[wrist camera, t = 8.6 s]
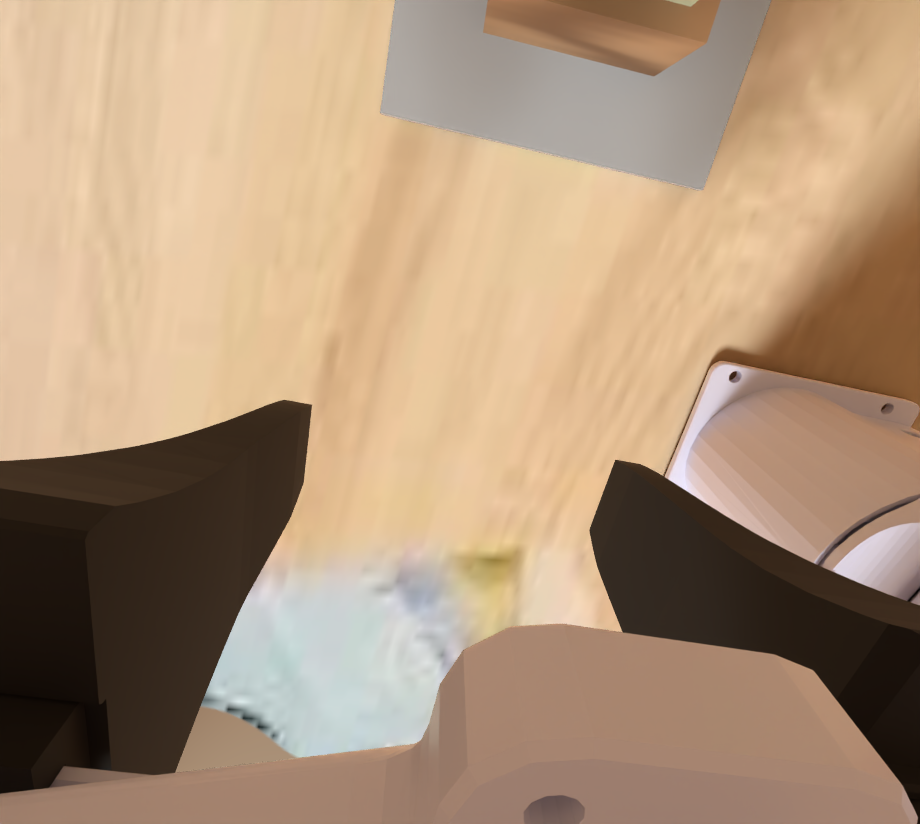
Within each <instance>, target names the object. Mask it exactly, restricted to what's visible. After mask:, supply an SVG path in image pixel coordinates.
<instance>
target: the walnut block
mask: <svg viewBox="0 0 920 824" xmlns="http://www.w3.org/2000/svg"><path fill="white" fill-rule="evenodd" d="M720 1H721V0H698V1H697V2H696V3H695V4H693V5H692V6H691V7H690V6H686V5H682V4H678V3H674V2H671V1H667V0H488V2H487V8H486V15H485V22H484V29H483V33H487V34H490V35H494V36H498V37H502V38H506V39H510V40H514V41H518V42H522V43H525V44H529V45H533V46H537V47H541V48H545V49H549V50H553V51H557V52H560V53H564V54H568V55H572V56H576V57H580V58H584V59H588V60H592V61H595V62H599V63H603V64H607V65H611V66H615V67H619V68H623V69H627V70H630V71H634V72H638V73H642V74H646V75H650V76H656V75H657V74H659V73H661V72H662V71H664V70H665V69H667V68H668V67H670V66H672V65H673V64H675V63H676V62H678V61H679V60H681V59H683V58H684V57H686V56H687V55H689V54H690V53H692V52H694V51H695V50H697V49H698V48H700V47H701V46H703V45H705V44H706V43H707V41H708V38H709V35H710V32H711V29H712V26H713V23H714V20H715V16H716V13H717V10H718V7H719V4H720Z"/></svg>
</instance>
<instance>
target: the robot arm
mask: <svg viewBox="0 0 920 824" xmlns="http://www.w3.org/2000/svg"><path fill="white" fill-rule="evenodd" d="M734 371H737V375H736V377H735V378H734V379H732V380H729V375H730V374H731V373H732V372H734ZM885 404H887V405H886V407H885V408H884V409H883V410H881V409H882V407H883V406H884V405H885ZM311 409H312V405H310V404H304V403H299V402H293V401H288V400H282V401H278V402H275V403H272V404H269V405H267V406H264V407H261V408H259V409H256V410H254V411H251V412H249V413H246V414H243V415H241V416H238V417H236V418H233V419H230V420H228V421H225V422H222V423H219V424H216V425H213V426H210V427H207V428H204V429H201V430H198V431H195V432H192V433H189V434H185V435H182V436H178V437H174V438H171V439H167V440H162V441H158V442H154V443H149V444H145V445H140V446H135V447H129V448H123V449H116V450H110V451H103V452H97V453H90V454H83V455H75V456H65V457H55V458H44V459H29V460H14V461H0V824H920V431H918V430H916V429H914V428H912V427H911V426H912V424H913V423H914V421H915V419H916V418H917V416H918V414H919V411H920V408H919V406H918V404H916V403H914V402H912V401H910V400H907V399H902V398H897V397H892V396H888V395H883V394H878V393H874V392H869V391H864V390H859V389H855V388H850V387H845V386H840V385H836V384H831V383H826V382H822V381H817V380H812V379H807V378H803V377H798V376H793V375H788V374H784V373H779V372H774V371H770V370H765V369H760V368H755V367H751V366H746V365H741V364H736V363H732V362H727V361H719V362H716V363H715V364H713V365H712V366H711V368H710V369H709V371H708V374H707V376H706V378H705V381H704V383H703V386H702V388H701V390H700V393H699V395H698V398H697V400H696V403H695V405H694V407H693V410H692V412H691V415H690V417H689V419H688V422H687V424H686V427H685V429H684V431H683V434H682V436H681V439H680V441H679V443H678V446H677V448H676V451H675V453H674V455H673V458H672V460H671V463H670V465H669V468H668V470H667V472H666V475H665V477H664V476H662V475H660V474H659V473H657V472H655V471H653V470H651V469H649V468H647V467H645V466H643V465H641V464H636V463H631V462H625V461H619V460H615V462H614V465H613V468H612V470H611V473H610V476H609V478H608V481H607V484H606V487H605V489H604V492H603V495H602V497H601V500H600V503H599V506H598V508H597V511H596V514H595V516H594V519H593V522H592V524H591V527H590V535H591V541H592V546H593V551H594V555H595V559H596V563H597V567H598V570H599V572H600V575H601V578H602V580H603V583H604V586H605V588H606V591H607V594H608V596H609V599H610V601H611V604H612V606H613V609H614V611H615V614H616V616H617V619H618V621H619V624H620V627H621V629H622V632H616V631H609V630H602V629H595V628H588V627H581V626H574V625H567V624H545V625H528V626H512V627H509V628H507V629H505V630H503V631H501V632H499V633H497V634H495V635H493V636H491V637H489V638H487V639H485V640H483V641H481V642H479V643H477V644H475V645H473V646H471V647H469V648H467V649H465V650H463V651H462V653H461V654H460V656H459V657H458V659H457V660H456V662H455V663H454V665H453V666H452V668H451V669H450V671H449V672H448V673H447V675H446V676H445V678H444V679H443V681H442V682H441V684H440V686H439V690H438V693H437V697H436V701H435V704H434V708H433V712H432V715H431V719H430V723H429V725H428V727H427V729H426V731H425V733H424V735H423V738H422V739H421V740H420V741H419V742H417V743H415V744H410V745H402V746H393V747H385V748H377V749H368V750H360V751H352V752H343V753H335V754H327V755H318V756H310V757H302V758H293V759H286V760H278V761H269V762H261V763H253V764H244V765H235V766H227V767H219V768H211V769H202V770H194V771H186V772H177V773H175V771H176V768H177V766H178V763H179V760H180V757H181V755H182V753H183V750H184V748H185V745H186V742H187V739H188V737H189V734H190V731H191V729H192V727H193V724H194V721H195V718H196V716H197V714H198V711H199V708H200V706H201V703H202V701H203V698H204V696H205V693H206V691H207V688H208V686H209V683H210V681H211V678H212V676H213V673H214V671H215V668H216V666H217V663H218V661H219V658H220V656H221V654H222V651H223V649H224V646H225V644H226V642H227V639H228V637H229V635H230V632H231V630H232V627H233V625H234V623H235V620H236V618H237V616H238V613H239V611H240V609H241V607H242V605H243V603H244V601H245V599H246V597H247V595H248V593H249V591H250V590H251V588H252V586H253V584H254V582H255V581H256V579H257V577H258V575H259V574H260V572H261V570H262V568H263V566H264V565H265V563H266V561H267V559H268V557H269V556H270V554H271V552H272V550H273V548H274V547H275V545H276V543H277V541H278V539H279V538H280V536H281V534H282V532H283V530H284V529H285V527H286V525H287V523H288V521H289V519H290V517H291V515H292V512H293V510H294V507H295V505H296V502H297V499H298V497H299V494H300V491H301V488H302V486H303V483H304V474H305V464H306V455H307V446H308V437H309V427H310V418H311Z"/></svg>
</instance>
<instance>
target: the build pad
mask: <svg viewBox="0 0 920 824" xmlns="http://www.w3.org/2000/svg"><path fill="white" fill-rule="evenodd" d="M487 2H488V0H395V5H394V12H393V20H392V28H391V35H390V43H389V50H388V58H387V65H386V73H385V80H384V88H383V96H382V103H381V111H380V113H381V114H382V115H386V116H391V117H395V118H399V119H403V120H407V121H411V122H416V123H420V124H424V125H428V126H432V127H436V128H441V129H445V130H449V131H453V132H457V133H461V134H466V135H470V136H474V137H478V138H482V139H487V140H491V141H495V142H499V143H503V144H507V145H512V146H516V147H520V148H524V149H528V150H532V151H537V152H541V153H545V154H549V155H553V156H557V157H562V158H566V159H570V160H574V161H578V162H582V163H587V164H591V165H595V166H599V167H603V168H608V169H612V170H616V171H620V172H624V173H628V174H633V175H637V176H641V177H645V178H649V179H653V180H658V181H662V182H666V183H670V184H674V185H678V186H683V187H687V188H691V189H695V190H703V189H704V186H705V183H706V180H707V178H708V175H709V172H710V169H711V167H712V164H713V161H714V158H715V156H716V153H717V150H718V147H719V144H720V142H721V139H722V136H723V133H724V131H725V128H726V125H727V122H728V119H729V117H730V114H731V111H732V108H733V106H734V103H735V100H736V97H737V94H738V92H739V89H740V86H741V83H742V81H743V78H744V75H745V72H746V69H747V67H748V64H749V61H750V58H751V56H752V53H753V50H754V47H755V44H756V42H757V39H758V36H759V33H760V31H761V28H762V25H763V22H764V19H765V17H766V14H767V11H768V8H769V6H770V3H771V0H721V1H720V4H719V7H718V10H717V13H716V16H715V20H714V23H713V26H712V29H711V32H710V35H709V38H708V41H707V43H706V44H705V45H703V46H701V47H700V48H698V49H697V50H695V51H694V52H692V53H690V54H689V55H687V56H686V57H684V58H683V59H681V60H679V61H678V62H676V63H675V64H673V65H672V66H670V67H668V68H667V69H665V70H664V71H662V72H661V73H659V74H657V75H656V76H650V75H646V74H642V73H638V72H634V71H630V70H627V69H623V68H619V67H615V66H611V65H607V64H603V63H599V62H595V61H592V60H588V59H584V58H580V57H576V56H572V55H568V54H564V53H560V52H557V51H553V50H549V49H545V48H541V47H537V46H533V45H529V44H525V43H522V42H518V41H514V40H510V39H506V38H502V37H498V36H494V35H490V34H487V33H483V29H484V22H485V15H486V8H487Z"/></svg>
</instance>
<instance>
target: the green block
mask: <svg viewBox="0 0 920 824" xmlns="http://www.w3.org/2000/svg"><path fill="white" fill-rule="evenodd" d="M667 1H671V2H674V3H678V4H682V5H686V6H690V7H691V6H692V5H693V4H695V3H696V2H697V1H698V0H667Z"/></svg>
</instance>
